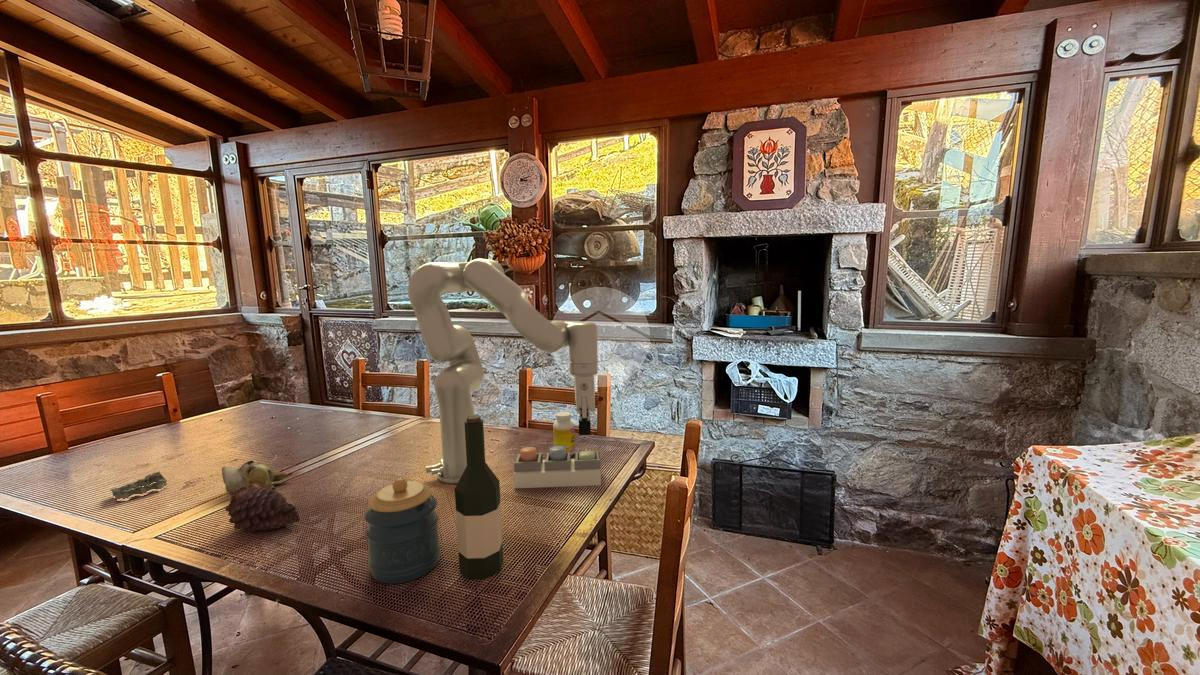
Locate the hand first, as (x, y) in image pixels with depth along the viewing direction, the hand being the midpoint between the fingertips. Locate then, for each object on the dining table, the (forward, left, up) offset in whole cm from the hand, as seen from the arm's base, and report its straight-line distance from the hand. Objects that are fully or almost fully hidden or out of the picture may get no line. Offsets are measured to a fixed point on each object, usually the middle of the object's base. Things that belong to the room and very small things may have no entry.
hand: (584, 433), depth 128 cm
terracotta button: (-14, +6, -7) cm, 17 cm away
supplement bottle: (+2, +20, -13) cm, 24 cm away
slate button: (-7, +3, -7) cm, 10 cm away
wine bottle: (-35, -26, -13) cm, 45 cm away
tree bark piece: (-108, +51, -13) cm, 120 cm away
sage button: (0, 0, -9) cm, 9 cm away
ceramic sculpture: (-81, +38, -13) cm, 90 cm away
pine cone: (-76, +13, -13) cm, 78 cm away
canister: (-48, -18, -13) cm, 53 cm away
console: (-7, +3, -13) cm, 15 cm away
